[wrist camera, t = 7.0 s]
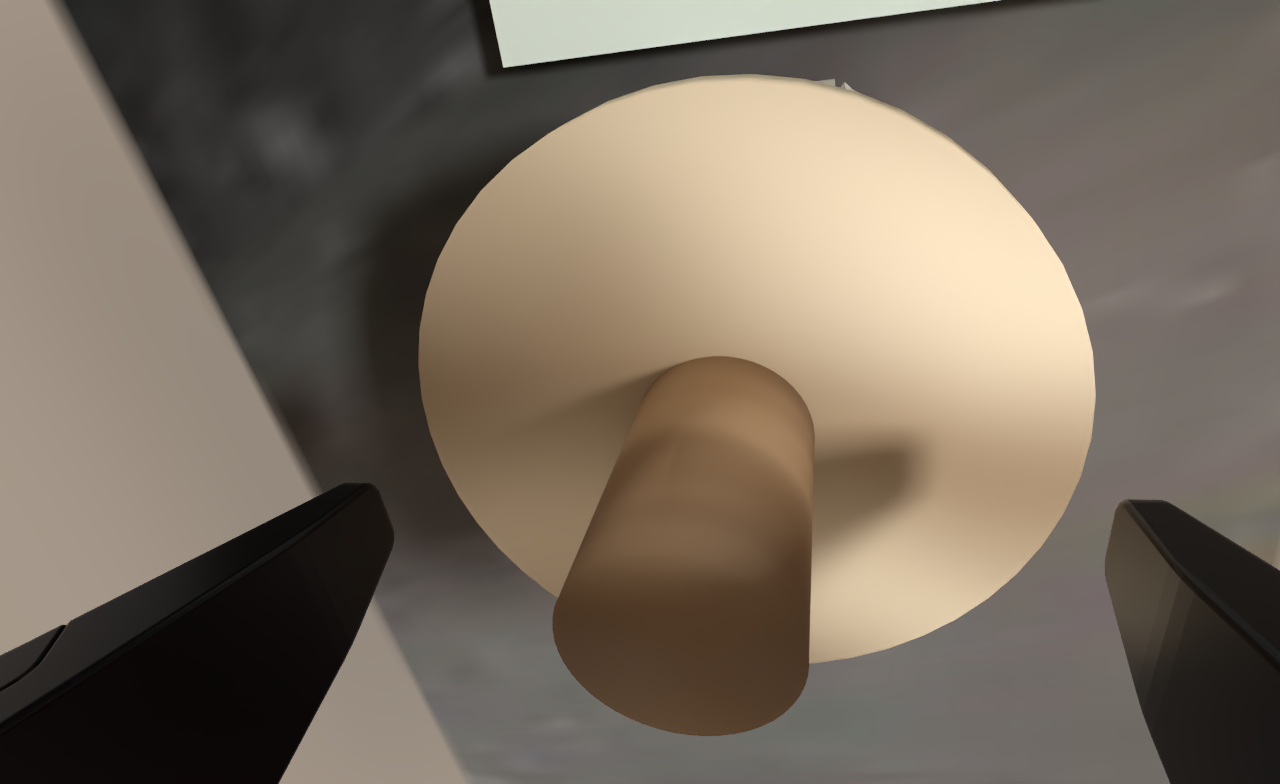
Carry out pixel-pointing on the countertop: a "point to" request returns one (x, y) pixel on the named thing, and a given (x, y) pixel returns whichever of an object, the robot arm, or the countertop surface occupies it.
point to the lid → (752, 387)
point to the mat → (664, 22)
